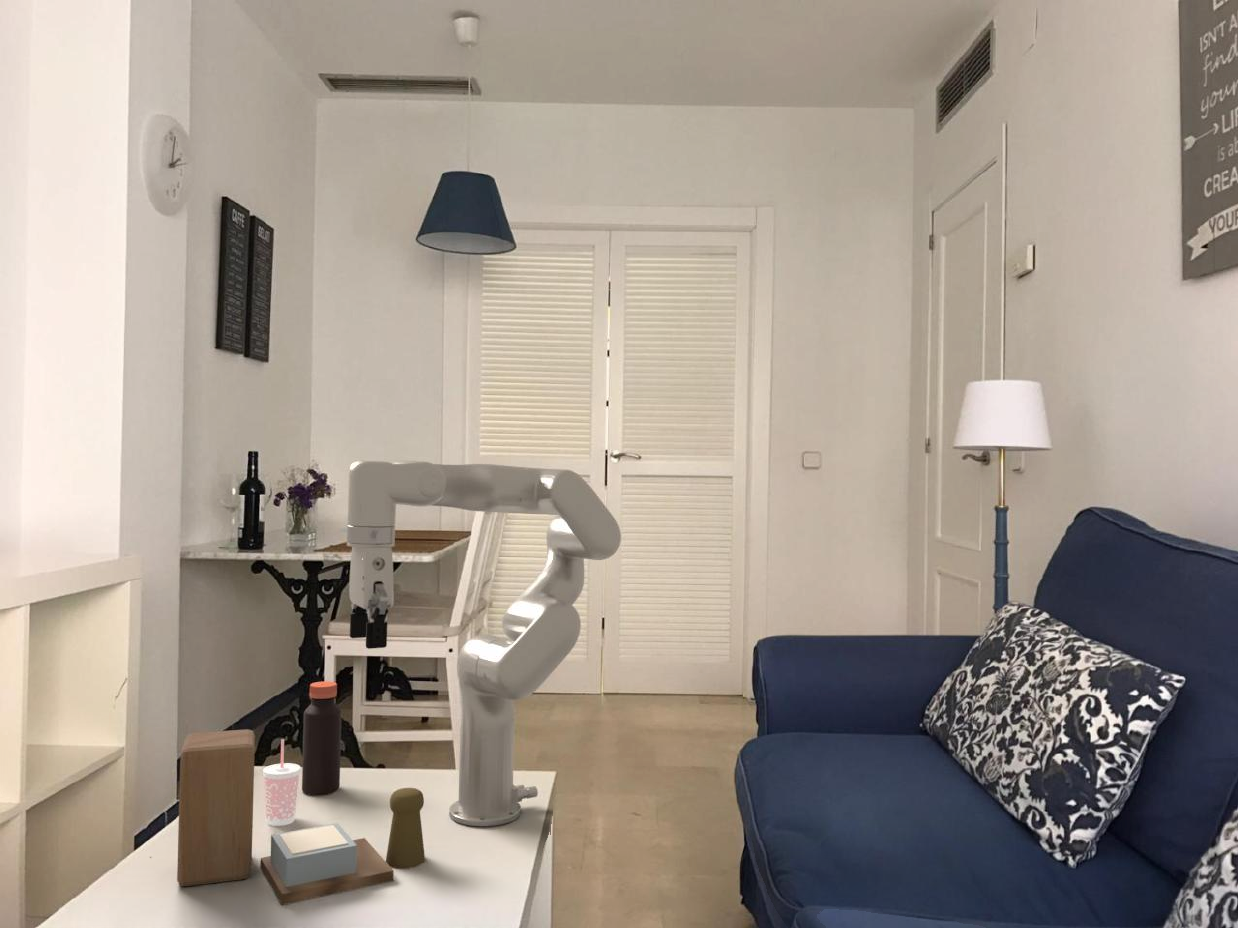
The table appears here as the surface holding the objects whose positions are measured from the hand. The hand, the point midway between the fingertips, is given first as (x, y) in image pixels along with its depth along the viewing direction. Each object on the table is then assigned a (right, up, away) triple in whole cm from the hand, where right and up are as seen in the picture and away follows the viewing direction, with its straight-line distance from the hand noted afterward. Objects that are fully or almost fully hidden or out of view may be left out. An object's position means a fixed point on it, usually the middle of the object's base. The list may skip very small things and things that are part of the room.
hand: (367, 642), depth 153 cm
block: (-20, -33, -11) cm, 40 cm away
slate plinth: (-5, -31, -12) cm, 34 cm away
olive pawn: (+7, -33, -5) cm, 35 cm away
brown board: (-3, -33, -11) cm, 35 cm away
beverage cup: (-18, -33, +10) cm, 38 cm away
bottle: (-16, -33, +25) cm, 44 cm away
